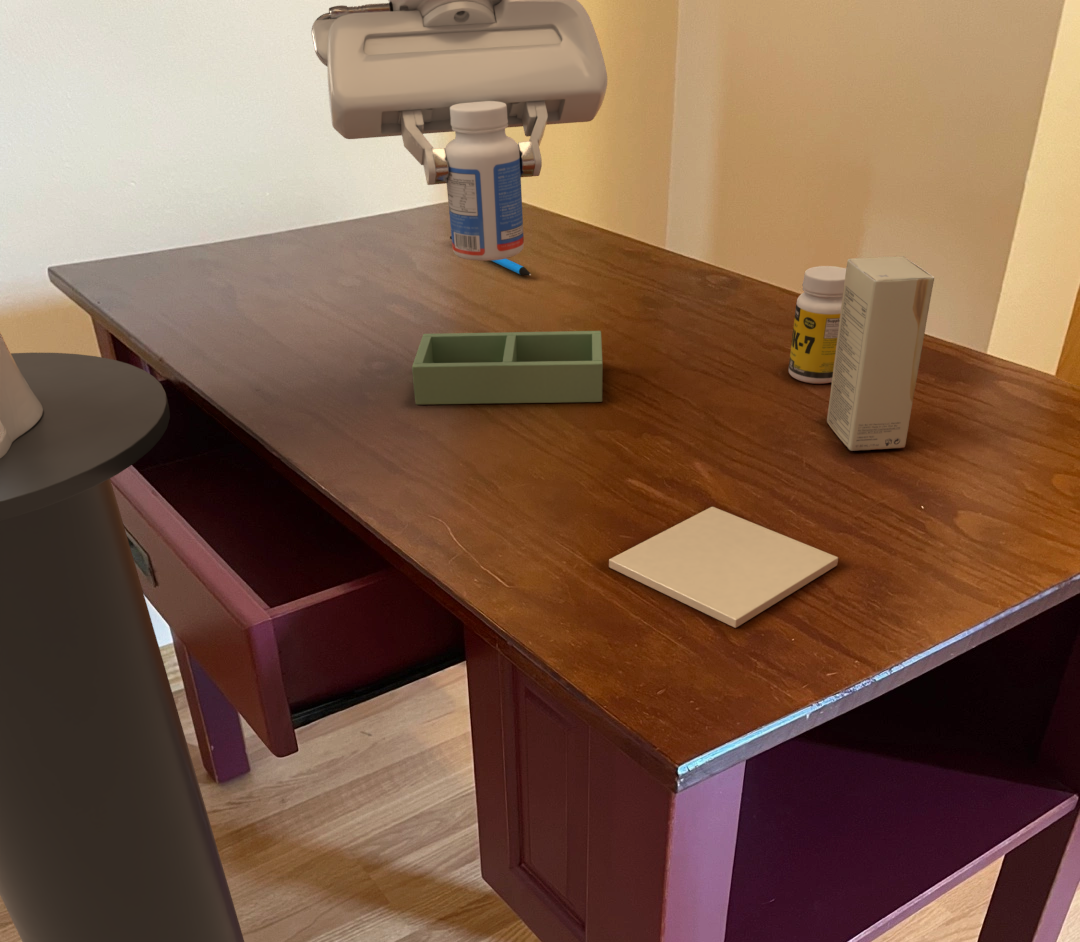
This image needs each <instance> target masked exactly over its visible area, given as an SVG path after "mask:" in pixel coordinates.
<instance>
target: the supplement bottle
mask: <svg viewBox="0 0 1080 942" xmlns="http://www.w3.org/2000/svg"><path fill="white" fill-rule="evenodd" d="M845 275H846V267H841V266H835V265H818V266H817V265H816V266H812V267H809V268H807V269H806V270H805V271H804V273H803V280H802V285H801V286H802V291H803V292H802V293H801V294H800V295H798V297H797V299H796V303H795V309H794V310H795V311H794V319H793V327H792V335H791V343H790V344H791V345H790V352H789V353H790V354H789V361H788V373H789V376H791V377H792V378H793V379H795V380H797V381H800V382H803V383H806V384H815V385H822V384H823V385H824V384H832V377H833V369H834V361H835V353H836V345H837V337H838V329H839V322H840V314H841V306H842V299H843V291H844V283H845Z"/></svg>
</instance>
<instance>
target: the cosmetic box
mask: <svg viewBox="0 0 1080 942" xmlns="http://www.w3.org/2000/svg"><path fill="white" fill-rule="evenodd" d="M845 268H846V275H845V283H844V291H843V299H842V306H841V314H840V322H839V329H838V337H837V345H836V353H835V361H834V369H833V377H832V382H831V386H830V393H829V400H828V401H829V402H828V409H827V414H826V415H827V416H826V423H827V424H828V425H829V427H830V428H831V430H832V431H833V432H834V433H835V435H836V436H837V437H838V438H839V440H840V441H841V442H842V443H843V444H844V446H845V447H847V449H848V450H849V451H851V452H853V451H854V452H855V451H856V452H857V451H871V450H889V449H904V448H905V447H906V444H907V437H908V432H909V426H910V420H911V414H912V408H913V401H914V397H915V392H916V386H917V379H918V373H919V369H920V362H921V356H922V351H923V344H924V338H925V335H926V334H925V333H926V327H927V321H928V317H929V316H928V315H929V311H930V304H931V300H932V299H931V298H932V294H933V287H934V284H935V283H934V282H935V276H934V275H932V273H930V272H928V271H927V270H925V269H924V268H923V267H921V266H919V264H917V263H915V262H914V261H913V260H910V259H909V258H908V257H906V256H904V255H901V256H900V255H899V256H897V255H896V256H875V257H853V258H848V259H847V260H846V267H845Z"/></svg>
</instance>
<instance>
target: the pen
mask: <svg viewBox="0 0 1080 942" xmlns="http://www.w3.org/2000/svg"><path fill="white" fill-rule="evenodd" d="M449 239H450V240H452V238H451V235H450V236H449ZM489 261H490V262H493V263H494V264H497V265H498V266H501V267H503V268H505V269H507V270H509V271H511V272H513V273H515V274H518V275H519V276H526V277H527V276H532V274H531V272H530V271H529V270H528V269H527V268H526V267H525V266H523V265H521V264H519V263H516V262H514V261H512V260H511V259H509V258H506V259H501V260H489Z"/></svg>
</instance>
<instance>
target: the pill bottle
mask: <svg viewBox="0 0 1080 942" xmlns="http://www.w3.org/2000/svg"><path fill="white" fill-rule="evenodd" d="M450 117H451V126H452V130H453V131H454V133H455V138H454V139H452V140H450V141H449V142H448V143H447V144H446V146H445V147H444V148H445V151H446V156H447V157H446V161H447V162H448V166H449V177H448V183H446V191H447V192H446V193H447V202H448V214H449V224H450V236H451V238H452V239H451V246H452V251H453V254H454V255H455V256H456V257H458V258H459V259H463V260H469V261H480V262H481V261H482V262H485V261H486V262H487V261H490V260H501V259H509V258H512V257H515V256H517V255H518V254H520V253H521V252H522V251H523V249H524V245H525V240H524V239H525V237H524V236H525V235H524V219H523V217H524V216H523V215H524V214H523V197H522V177H521V173H520V156H519V147H518V143H517V141H516V140H515V139H514V138H512V137H511V136H508V135H507V134H506V129H507V127H508V124H507V123H508V119H507V106H506V104H505V103H503V102H497V101H480V102H468V103H459V104H455V105H452V106H451V107H450ZM508 128H509V127H508Z"/></svg>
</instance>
